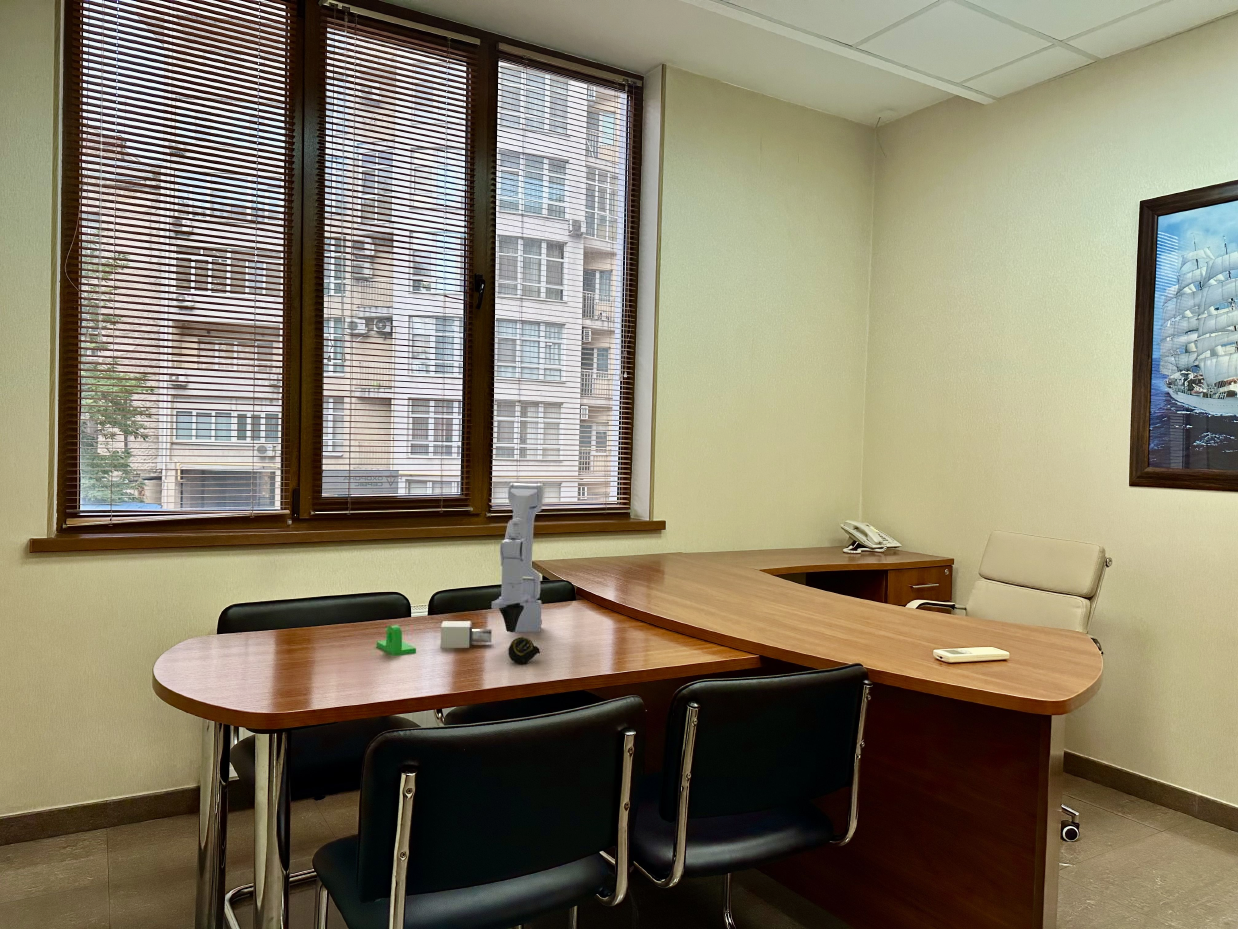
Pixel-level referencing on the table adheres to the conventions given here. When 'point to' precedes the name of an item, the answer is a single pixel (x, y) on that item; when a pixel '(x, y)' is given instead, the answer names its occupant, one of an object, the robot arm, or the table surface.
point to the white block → (456, 634)
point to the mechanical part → (395, 642)
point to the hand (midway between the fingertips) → (510, 631)
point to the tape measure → (522, 650)
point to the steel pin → (481, 635)
